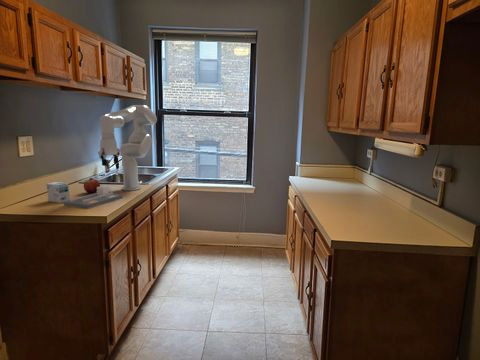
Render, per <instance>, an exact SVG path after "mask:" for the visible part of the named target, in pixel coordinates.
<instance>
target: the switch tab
mask: <svg viewBox="0 0 480 360" xmlns="http://www.w3.org/2000/svg"><path fill="white" fill-rule="evenodd" d="M96 193H97V196H100V195H104V194H107V193H110V192H109V185H108V186H106V185H100V186H99V187H97V192H96Z"/></svg>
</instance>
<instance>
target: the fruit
mask: <svg viewBox="0 0 480 360" xmlns="http://www.w3.org/2000/svg"><path fill="white" fill-rule="evenodd" d="M99 186H101V184H100V181H98V179H94V178H93V177H90V178H89V179H87V180H85V181H84V183H83V189H84V191H85V192H86V193H90V194H95V193H97V187H99Z"/></svg>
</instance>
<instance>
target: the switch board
mask: <svg viewBox="0 0 480 360" xmlns="http://www.w3.org/2000/svg"><path fill="white" fill-rule="evenodd" d="M120 199H123V195H122V194H118V193H114V192H113V191H112V192H109V193H107V194H104V195H100V196H97V192H95V193H90V194H87V195H84V196H83V195H82V196H80V197H76V198H72V199H70V200H68V201H65V202H63V206H67V207H75V208H79V209H80V208H83V209H90V208H95V207H98V206H101V205H104V204H107V203H110V202H114V201H117V200H120Z"/></svg>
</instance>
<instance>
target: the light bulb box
mask: <svg viewBox="0 0 480 360" xmlns="http://www.w3.org/2000/svg"><path fill="white" fill-rule="evenodd" d="M46 192H47V200H48V202H52V203H58V204H62V203H64V202H65V201H68V200H71V198H70V188H69V183H68V182H59V181H58V182H57V181H54V182H48V183H46Z"/></svg>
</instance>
